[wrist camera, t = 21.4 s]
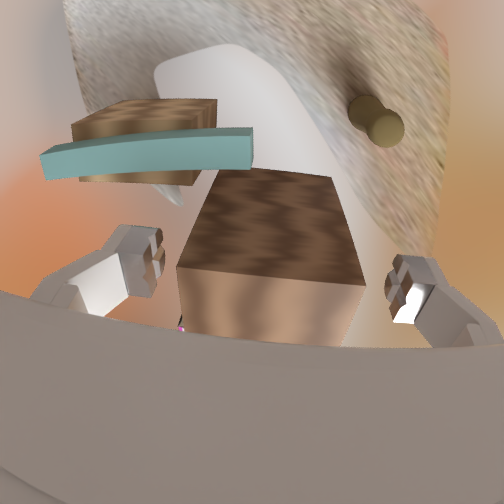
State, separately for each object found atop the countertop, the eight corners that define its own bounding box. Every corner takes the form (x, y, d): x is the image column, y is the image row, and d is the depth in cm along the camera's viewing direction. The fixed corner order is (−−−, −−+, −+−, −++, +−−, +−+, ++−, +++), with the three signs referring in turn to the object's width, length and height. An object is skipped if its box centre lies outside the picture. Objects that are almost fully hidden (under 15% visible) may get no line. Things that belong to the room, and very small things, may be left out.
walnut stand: (220, 227, 56) (186, 343, 36) (221, 165, 49) (176, 266, 29) (318, 237, 56) (334, 357, 35) (331, 177, 49) (366, 286, 28)
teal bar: (60, 169, 35) (45, 180, 32) (54, 145, 33) (39, 155, 30) (253, 158, 33) (250, 169, 30) (252, 127, 31) (250, 136, 28)
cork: (361, 87, 39) (383, 98, 31) (391, 109, 41) (419, 127, 32) (340, 118, 43) (356, 136, 34) (371, 138, 44) (393, 162, 35)
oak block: (125, 145, 48) (79, 181, 36) (122, 100, 43) (71, 124, 31) (215, 147, 47) (192, 185, 35) (217, 99, 43) (191, 120, 31)
